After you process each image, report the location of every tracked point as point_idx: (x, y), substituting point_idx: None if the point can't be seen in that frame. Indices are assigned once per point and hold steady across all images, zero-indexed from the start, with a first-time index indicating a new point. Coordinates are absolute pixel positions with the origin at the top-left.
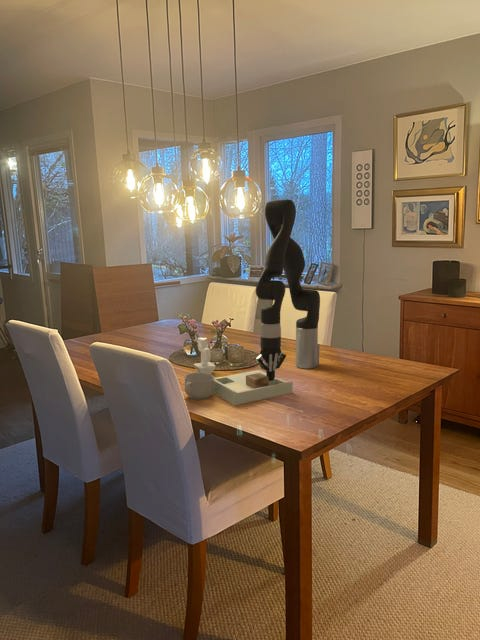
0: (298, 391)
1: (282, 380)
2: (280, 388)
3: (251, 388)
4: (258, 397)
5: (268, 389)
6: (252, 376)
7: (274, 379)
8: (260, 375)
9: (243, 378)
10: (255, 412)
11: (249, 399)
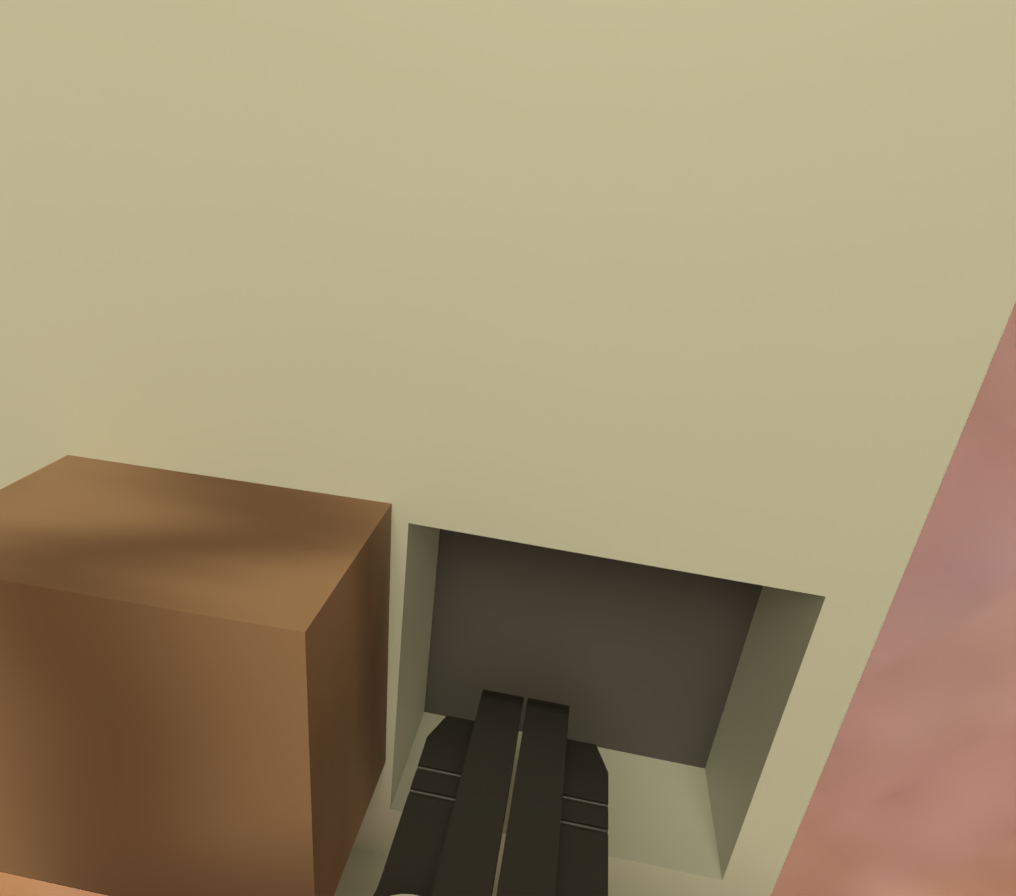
0: (832, 854)
1: (826, 742)
2: None
3: None
4: None
5: None
6: (3, 710)
7: (775, 585)
8: (209, 786)
9: (204, 21)
10: (7, 888)
11: None
